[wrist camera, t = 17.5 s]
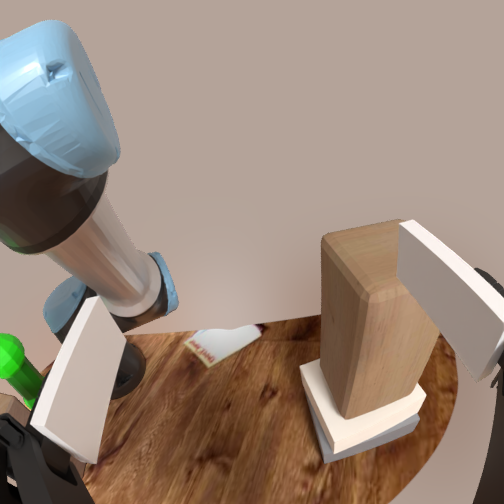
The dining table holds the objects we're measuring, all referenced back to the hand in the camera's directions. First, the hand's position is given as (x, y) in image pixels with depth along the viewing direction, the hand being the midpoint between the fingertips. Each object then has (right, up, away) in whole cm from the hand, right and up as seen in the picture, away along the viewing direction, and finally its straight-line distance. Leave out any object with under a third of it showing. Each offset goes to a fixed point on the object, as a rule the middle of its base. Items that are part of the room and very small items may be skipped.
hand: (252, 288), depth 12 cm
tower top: (+15, -20, +24) cm, 34 cm away
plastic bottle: (-47, -34, +36) cm, 69 cm away
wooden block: (+15, -15, +21) cm, 30 cm away
